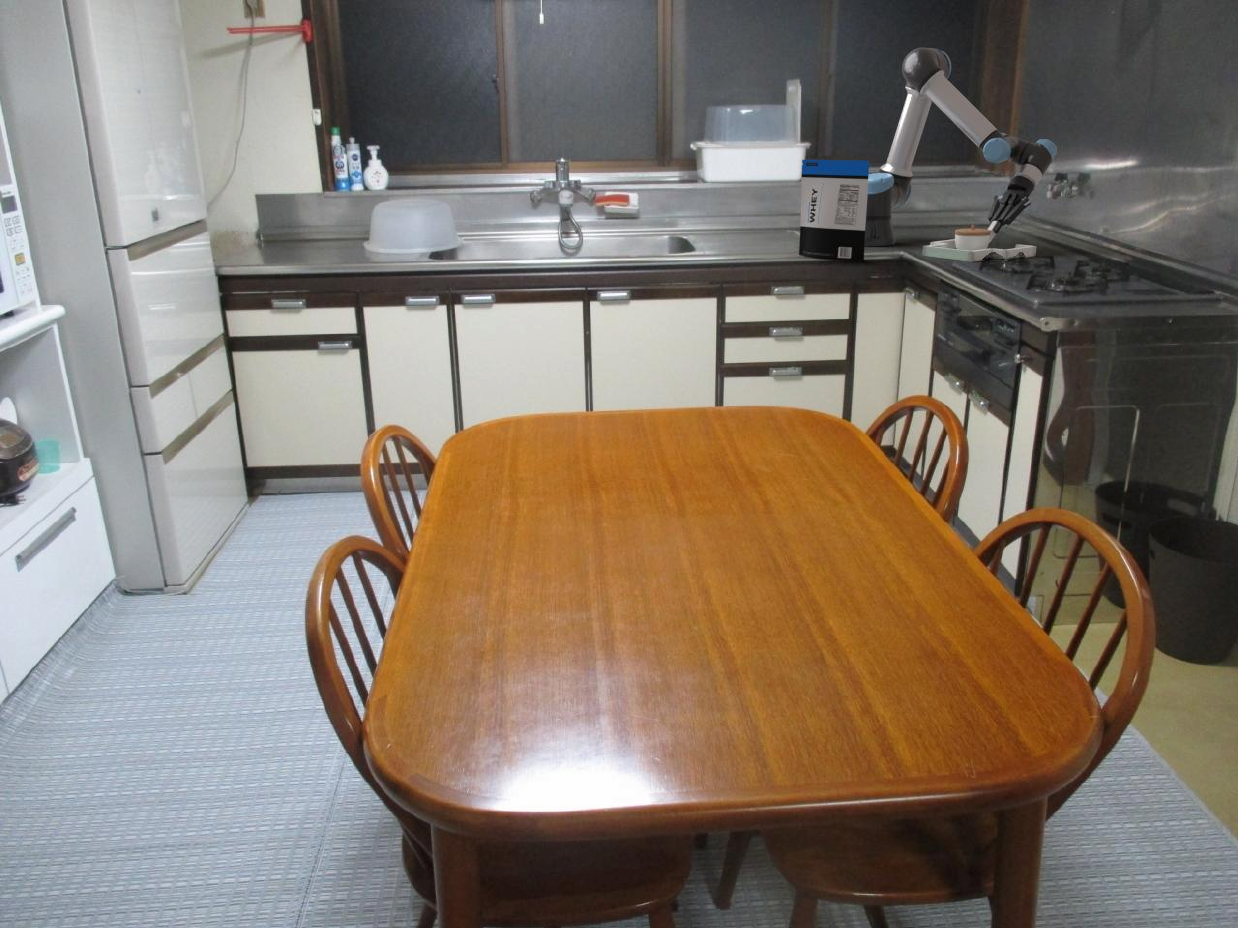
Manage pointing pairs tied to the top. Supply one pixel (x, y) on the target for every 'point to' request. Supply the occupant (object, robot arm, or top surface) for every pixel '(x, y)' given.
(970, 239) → the lidded jar
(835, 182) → the protein powder
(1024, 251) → the box
